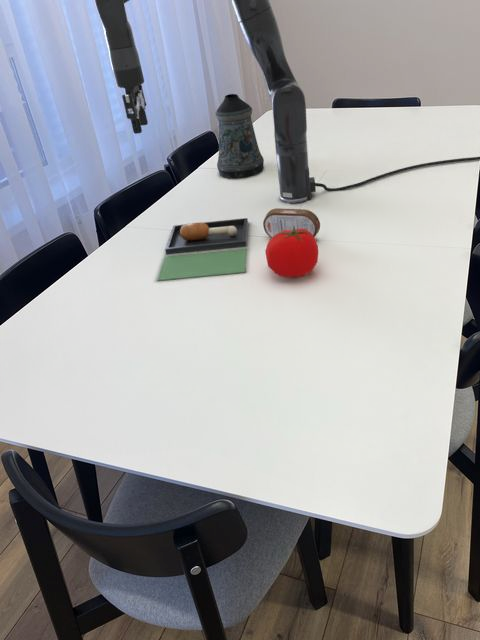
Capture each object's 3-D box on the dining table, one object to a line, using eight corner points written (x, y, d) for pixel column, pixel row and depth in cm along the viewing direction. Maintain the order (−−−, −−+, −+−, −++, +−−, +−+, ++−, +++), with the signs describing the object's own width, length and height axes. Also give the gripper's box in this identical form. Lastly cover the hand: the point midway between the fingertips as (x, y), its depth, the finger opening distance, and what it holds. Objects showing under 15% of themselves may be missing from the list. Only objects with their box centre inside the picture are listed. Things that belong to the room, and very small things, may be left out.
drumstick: (238, 231, 161) (235, 216, 158) (237, 238, 157) (234, 222, 154) (182, 237, 162) (179, 221, 159) (180, 244, 158) (177, 228, 155)
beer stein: (238, 182, 194) (227, 104, 180) (204, 172, 207) (191, 99, 193) (274, 168, 202) (266, 92, 188) (239, 159, 215) (229, 87, 201)
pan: (248, 223, 165) (247, 217, 164) (246, 247, 152) (245, 241, 151) (174, 231, 167) (173, 225, 166) (166, 255, 154) (165, 249, 153)
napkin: (247, 249, 151) (247, 248, 151) (245, 272, 141) (245, 271, 141) (165, 257, 153) (164, 256, 153) (157, 281, 142) (157, 280, 142)
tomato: (304, 289, 131) (300, 246, 125) (258, 280, 137) (253, 239, 131) (330, 263, 140) (328, 222, 134) (286, 256, 146) (282, 216, 140)
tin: (321, 238, 152) (319, 208, 147) (318, 243, 149) (316, 213, 145) (267, 236, 157) (264, 206, 152) (263, 241, 154) (260, 211, 149)
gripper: (134, 69, 146) (149, 134, 156) (145, 59, 158) (158, 120, 167) (106, 72, 147) (122, 137, 156) (118, 63, 158) (133, 123, 168)
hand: (141, 128), depth 162 cm, fingers open, 8 cm apart
